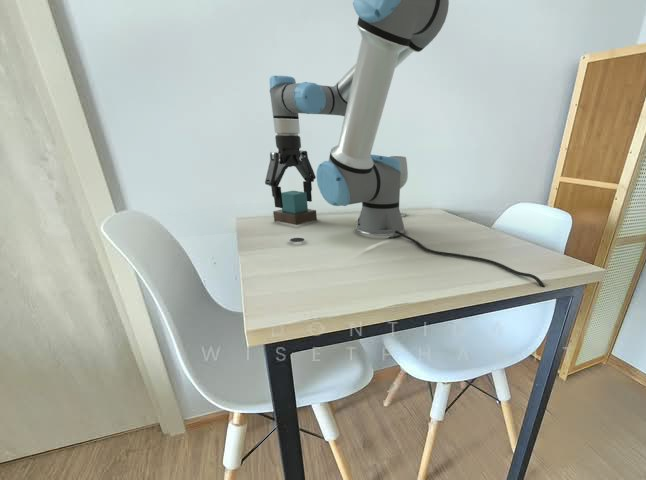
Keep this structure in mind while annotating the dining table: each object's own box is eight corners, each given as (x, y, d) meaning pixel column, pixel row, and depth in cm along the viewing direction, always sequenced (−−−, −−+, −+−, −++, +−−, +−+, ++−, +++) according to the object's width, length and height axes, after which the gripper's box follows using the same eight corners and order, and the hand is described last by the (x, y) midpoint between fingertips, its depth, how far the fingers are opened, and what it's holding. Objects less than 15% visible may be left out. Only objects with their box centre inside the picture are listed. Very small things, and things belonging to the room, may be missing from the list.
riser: (317, 221, 125) (316, 210, 123) (296, 227, 117) (295, 215, 115) (295, 217, 129) (294, 206, 127) (274, 223, 121) (273, 211, 119)
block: (307, 210, 122) (306, 192, 119) (295, 213, 117) (293, 194, 115) (294, 208, 125) (293, 190, 122) (282, 211, 120) (280, 192, 117)
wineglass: (409, 216, 136) (412, 157, 127) (391, 218, 133) (392, 157, 124) (400, 212, 142) (402, 155, 133) (383, 213, 139) (383, 155, 130)
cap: (307, 242, 103) (307, 239, 102) (297, 246, 100) (297, 242, 99) (297, 240, 104) (296, 236, 104) (287, 243, 101) (286, 240, 101)
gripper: (306, 134, 122) (311, 197, 131) (246, 134, 102) (256, 208, 112) (323, 135, 119) (327, 199, 128) (264, 135, 99) (273, 212, 109)
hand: (294, 204), depth 120 cm, fingers open, 13 cm apart
